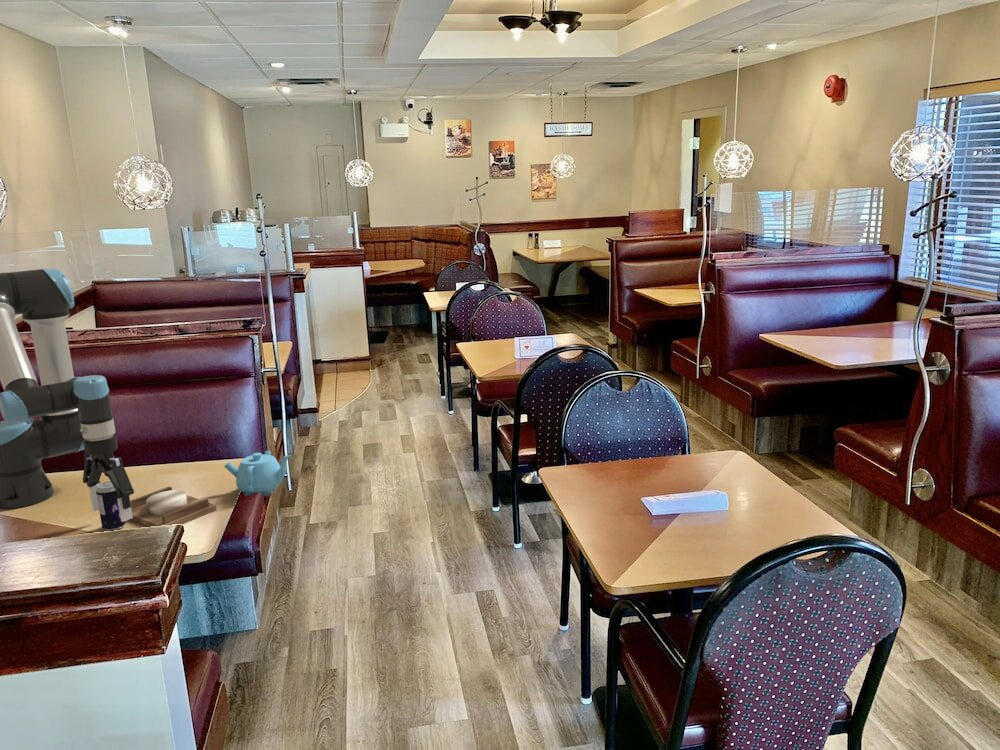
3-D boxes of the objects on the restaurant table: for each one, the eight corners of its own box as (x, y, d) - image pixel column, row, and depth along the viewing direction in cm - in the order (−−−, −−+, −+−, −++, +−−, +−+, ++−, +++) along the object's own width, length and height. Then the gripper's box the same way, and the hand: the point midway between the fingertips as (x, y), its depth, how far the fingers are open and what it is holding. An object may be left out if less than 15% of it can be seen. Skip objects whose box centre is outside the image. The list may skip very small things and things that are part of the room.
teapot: (277, 477, 234) (273, 441, 231) (295, 490, 223) (291, 453, 220) (226, 490, 225) (221, 453, 222) (243, 504, 214) (238, 466, 212)
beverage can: (116, 532, 199) (109, 489, 196) (97, 531, 200) (90, 488, 197) (131, 523, 204) (124, 481, 202) (112, 522, 206) (105, 480, 203)
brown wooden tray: (120, 515, 210) (117, 500, 209) (173, 495, 222) (171, 480, 221) (163, 532, 199) (160, 516, 197) (216, 510, 211) (214, 494, 210)
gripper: (59, 433, 200) (73, 509, 205) (111, 448, 186) (125, 529, 191) (88, 425, 206) (101, 500, 211) (140, 439, 192) (153, 518, 197)
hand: (112, 514), depth 201 cm, fingers open, 13 cm apart
